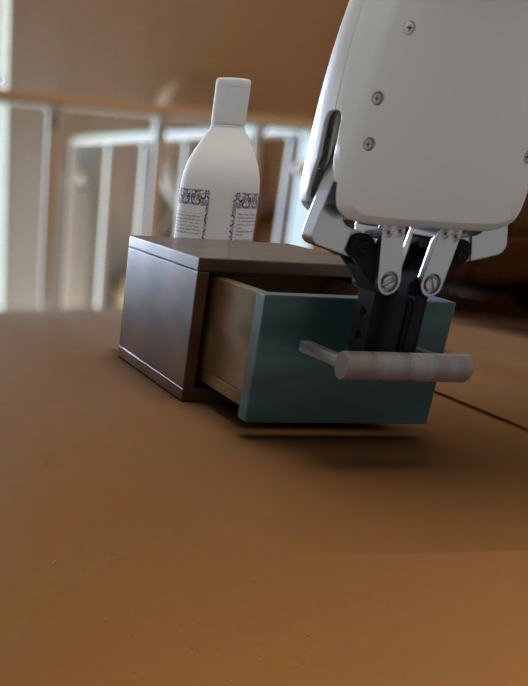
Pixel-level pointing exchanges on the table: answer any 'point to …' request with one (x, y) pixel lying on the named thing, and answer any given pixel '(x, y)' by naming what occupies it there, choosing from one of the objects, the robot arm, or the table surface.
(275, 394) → the teal drawer
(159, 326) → the cabinet
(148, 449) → the table surface
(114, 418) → the table surface
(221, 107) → the bath foam
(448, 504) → the table surface
